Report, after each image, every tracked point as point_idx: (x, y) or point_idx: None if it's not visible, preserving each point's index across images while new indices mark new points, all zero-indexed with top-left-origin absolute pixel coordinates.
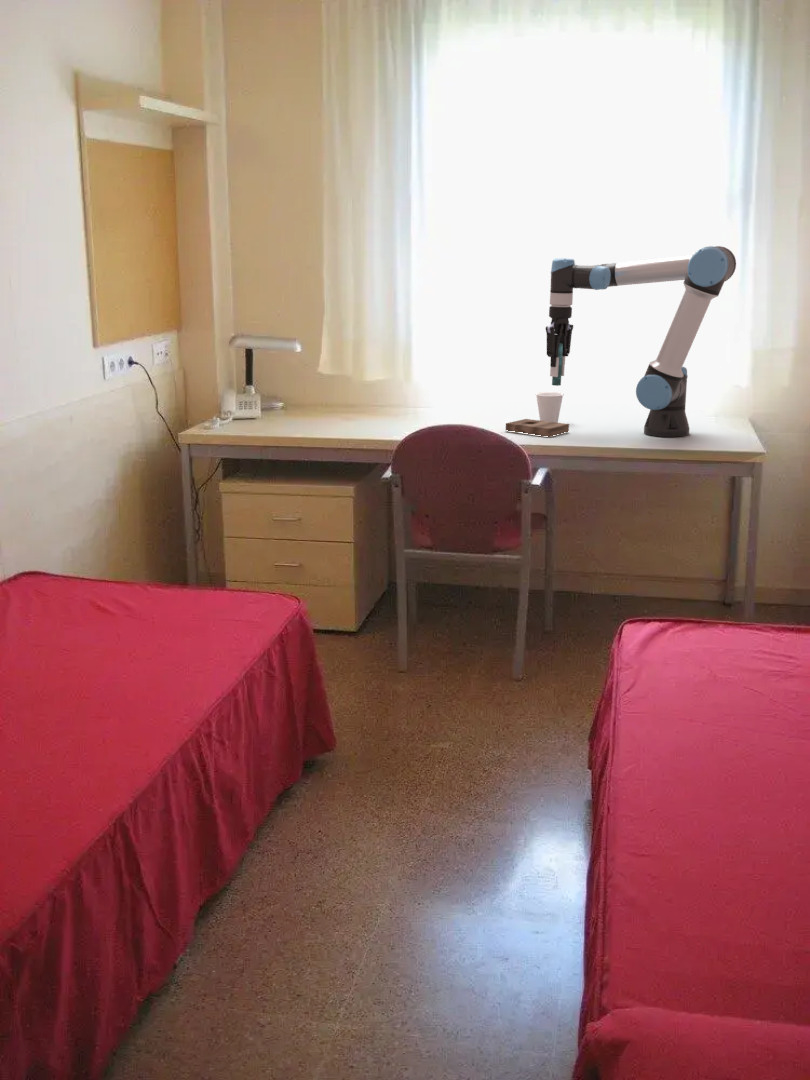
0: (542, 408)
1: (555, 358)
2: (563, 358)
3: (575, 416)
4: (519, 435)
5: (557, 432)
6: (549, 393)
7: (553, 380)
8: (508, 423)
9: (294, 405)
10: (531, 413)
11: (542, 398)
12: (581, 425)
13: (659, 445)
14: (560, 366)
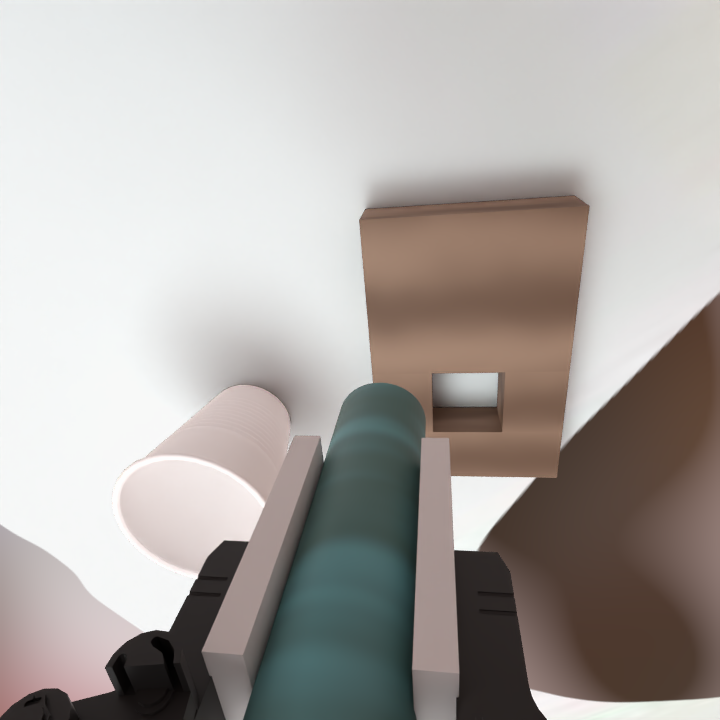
0: None
1: (479, 681)
2: (254, 627)
3: (22, 440)
4: (597, 355)
5: (484, 205)
6: (149, 546)
7: None
8: (552, 467)
9: None
10: (127, 578)
11: None
12: (149, 294)
13: None
14: (364, 524)
